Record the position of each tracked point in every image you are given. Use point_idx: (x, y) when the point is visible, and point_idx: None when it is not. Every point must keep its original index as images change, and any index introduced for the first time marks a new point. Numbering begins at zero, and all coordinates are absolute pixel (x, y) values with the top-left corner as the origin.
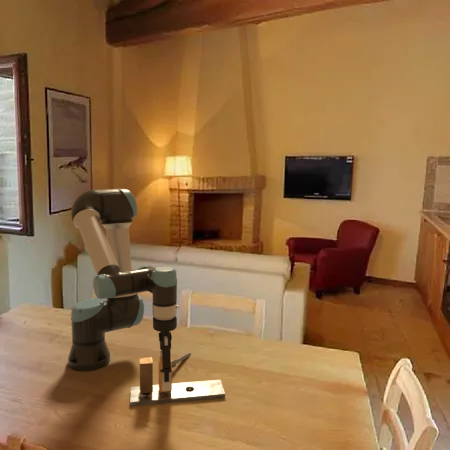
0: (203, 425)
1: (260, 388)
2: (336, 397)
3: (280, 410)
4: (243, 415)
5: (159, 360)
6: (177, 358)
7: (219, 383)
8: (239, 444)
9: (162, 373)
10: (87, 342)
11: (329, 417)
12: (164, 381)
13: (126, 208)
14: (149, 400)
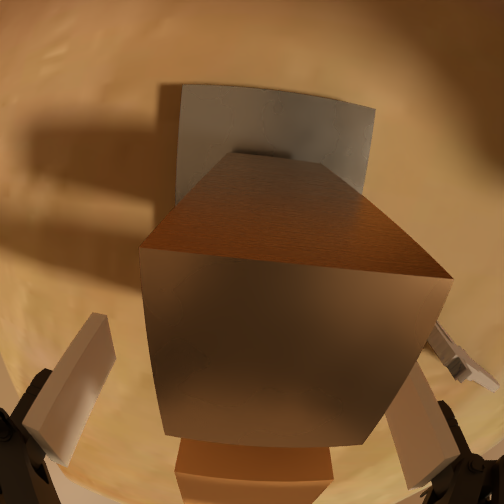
0: (52, 356)
1: None
2: None
3: (133, 474)
4: (108, 435)
5: (231, 481)
6: (480, 376)
7: None
8: (15, 384)
9: (33, 409)
10: None
11: (118, 491)
12: (39, 372)
13: None
14: (175, 204)
